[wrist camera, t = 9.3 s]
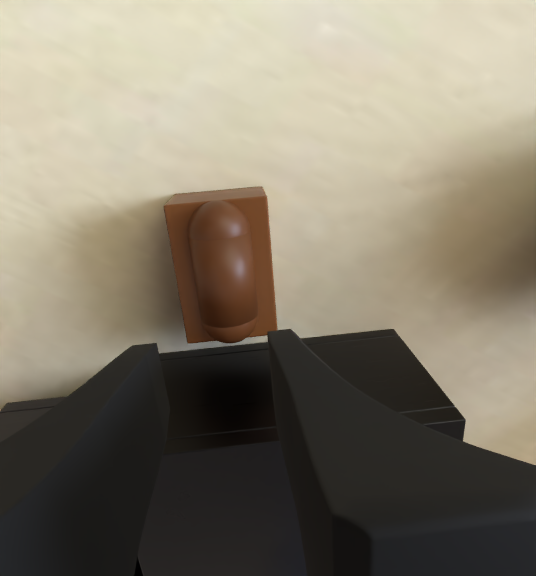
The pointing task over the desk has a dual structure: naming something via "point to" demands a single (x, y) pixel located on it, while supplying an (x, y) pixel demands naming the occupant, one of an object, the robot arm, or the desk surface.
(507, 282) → the desk surface
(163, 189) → the desk surface
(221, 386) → the black rectangular box
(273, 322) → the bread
